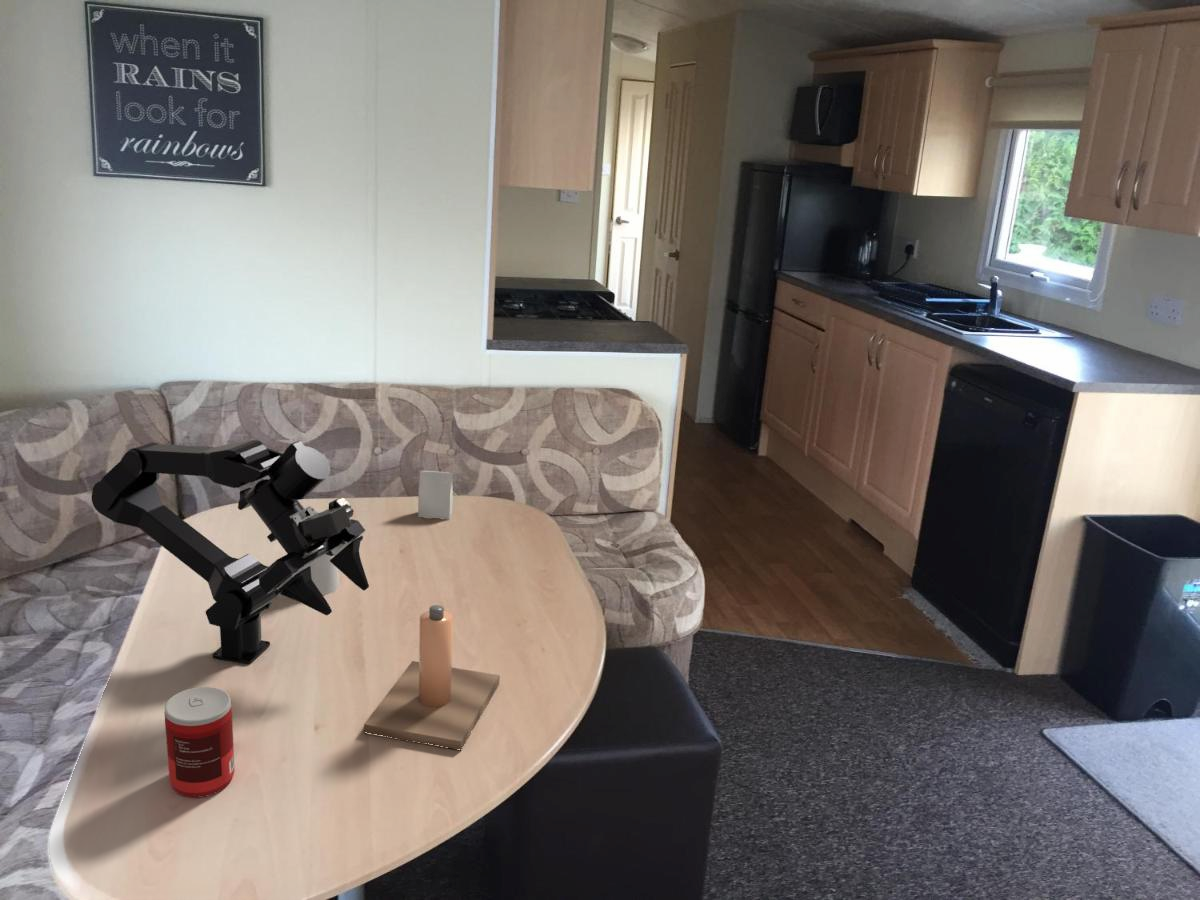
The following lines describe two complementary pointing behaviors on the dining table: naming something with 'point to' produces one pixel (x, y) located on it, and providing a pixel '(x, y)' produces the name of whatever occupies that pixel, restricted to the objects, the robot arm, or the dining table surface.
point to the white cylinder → (324, 574)
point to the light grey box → (435, 494)
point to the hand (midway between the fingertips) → (348, 600)
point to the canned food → (199, 741)
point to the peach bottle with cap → (435, 657)
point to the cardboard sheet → (433, 709)
